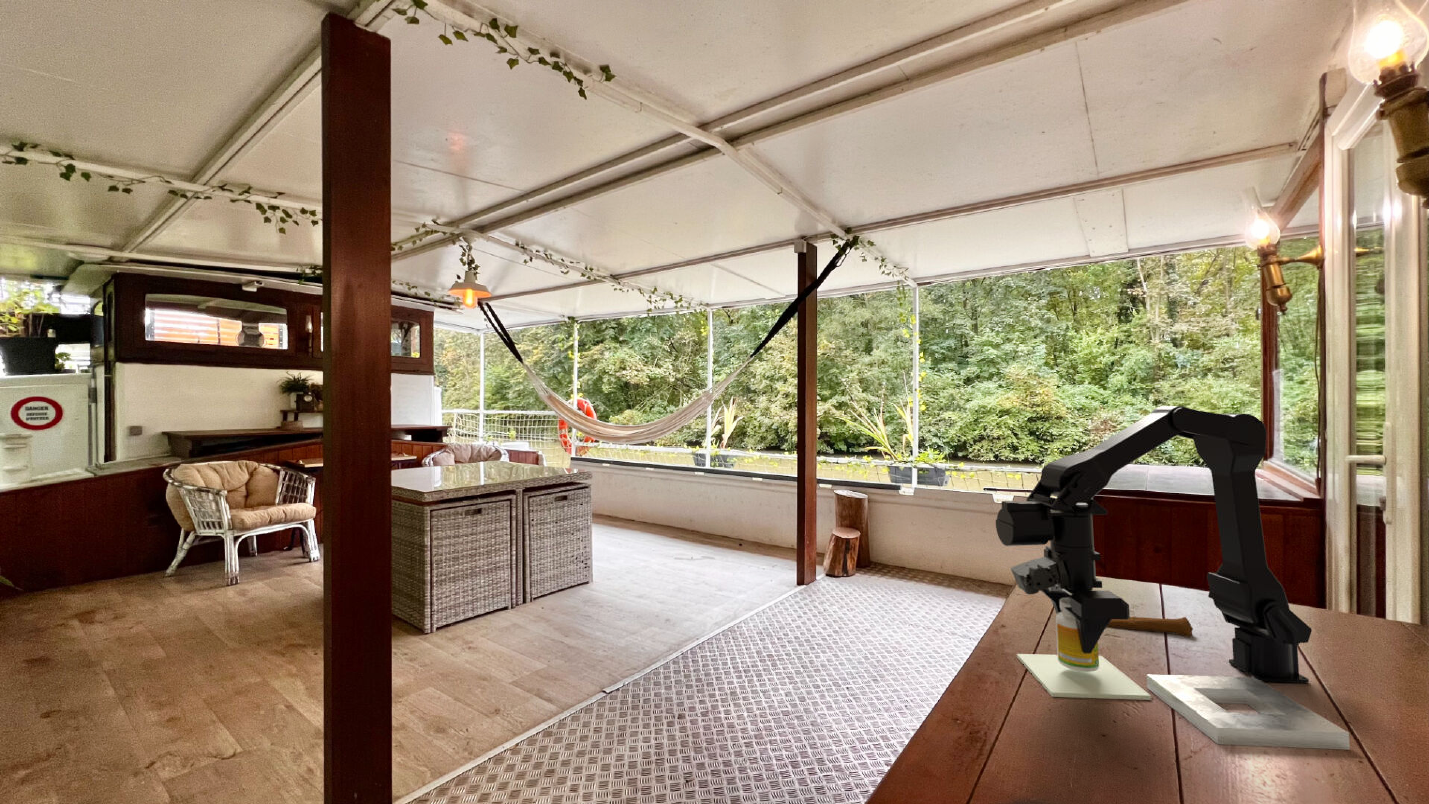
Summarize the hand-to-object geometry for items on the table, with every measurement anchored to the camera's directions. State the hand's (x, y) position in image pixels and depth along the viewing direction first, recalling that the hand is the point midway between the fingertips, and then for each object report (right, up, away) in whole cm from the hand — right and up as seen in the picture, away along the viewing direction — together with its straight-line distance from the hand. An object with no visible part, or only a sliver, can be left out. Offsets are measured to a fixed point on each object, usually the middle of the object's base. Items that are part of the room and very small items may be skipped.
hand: (1077, 644), depth 87 cm
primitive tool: (+21, -5, +19) cm, 28 cm away
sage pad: (0, -5, 0) cm, 5 cm away
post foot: (+14, -4, -12) cm, 19 cm away
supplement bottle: (0, -3, 0) cm, 3 cm away
